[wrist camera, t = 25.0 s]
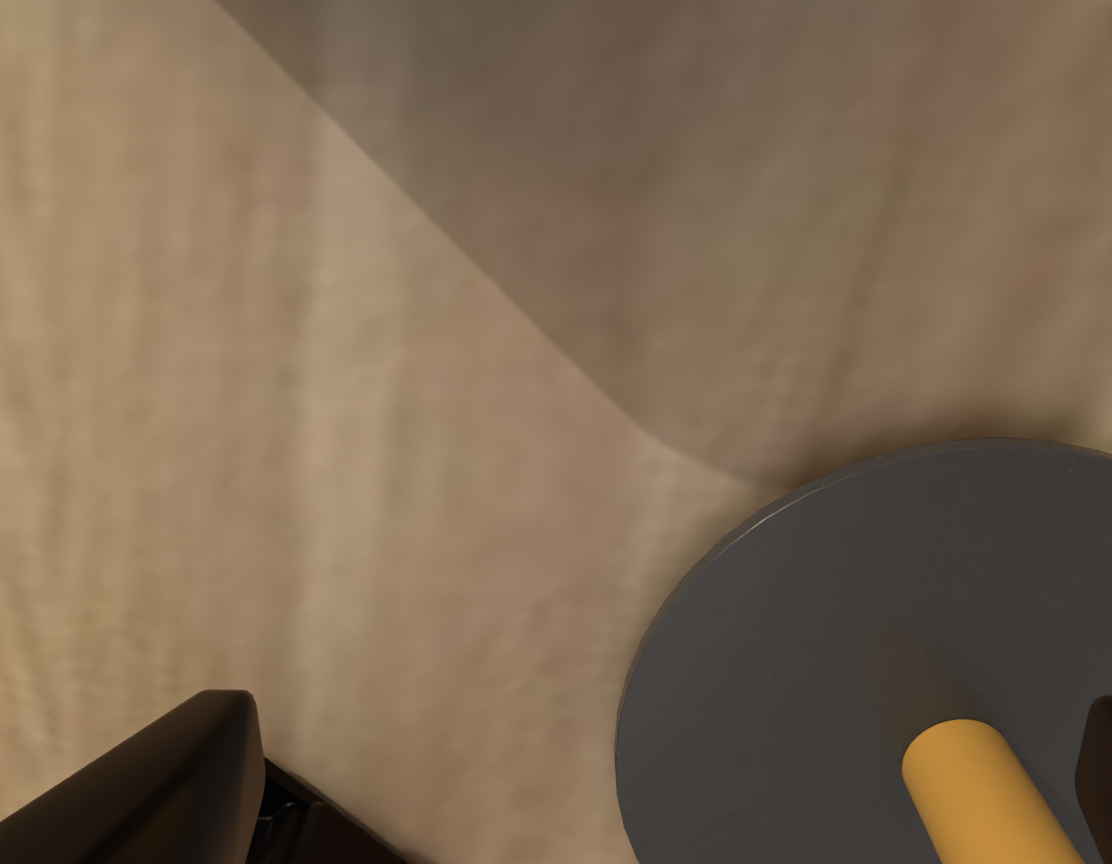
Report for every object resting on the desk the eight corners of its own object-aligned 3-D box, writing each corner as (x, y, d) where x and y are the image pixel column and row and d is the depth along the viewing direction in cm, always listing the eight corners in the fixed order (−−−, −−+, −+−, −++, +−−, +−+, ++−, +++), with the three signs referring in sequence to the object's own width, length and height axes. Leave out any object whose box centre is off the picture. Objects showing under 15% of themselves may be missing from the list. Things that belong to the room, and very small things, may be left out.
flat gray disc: (885, 1057, 26) (958, 1286, 21) (479, 728, 23) (452, 910, 18) (1405, 734, 22) (1641, 923, 17) (1011, 274, 19) (1166, 348, 14)
